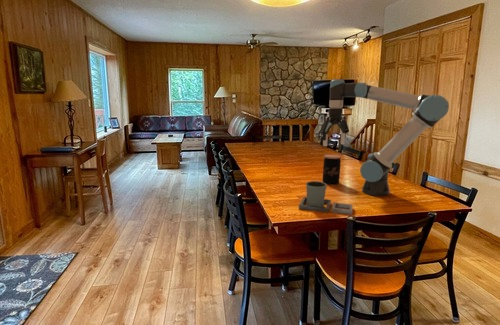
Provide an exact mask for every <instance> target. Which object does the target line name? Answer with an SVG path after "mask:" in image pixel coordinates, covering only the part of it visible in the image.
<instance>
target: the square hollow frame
mask: <svg viewBox="0 0 500 325" xmlns="http://www.w3.org/2000/svg"><path fill="white" fill-rule="evenodd" d="M306 202H307V196H304V197H302V199H301V201H300V203H299V205H298V210H303V211H311V212H319V213H320V212H321V213H327V214H328V213H329V212H330V208H331V204H332V199H326V198H324V205H325V204H326V207H325V206H324V207H316V206H308V205H307V204H306V205H305V203H306Z"/></svg>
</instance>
